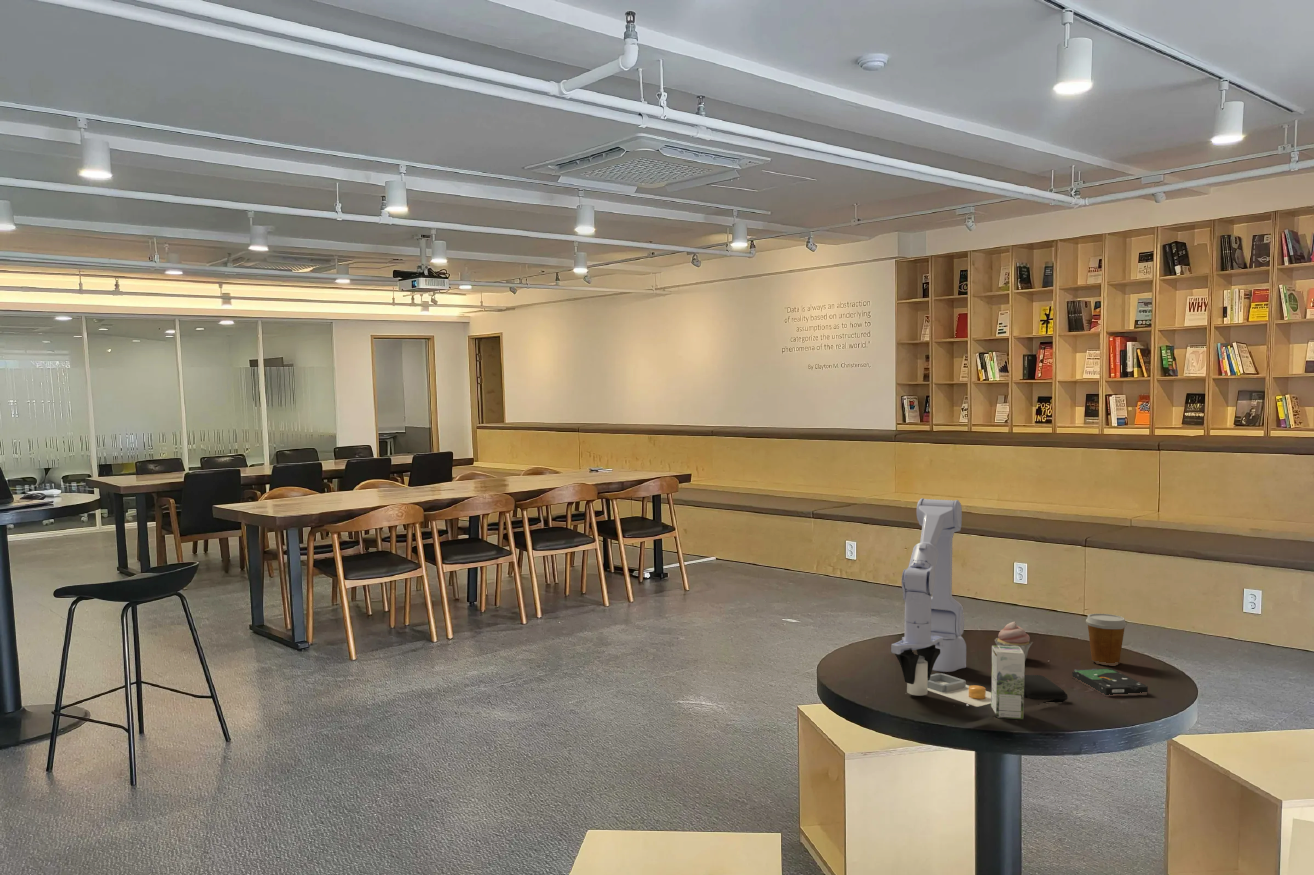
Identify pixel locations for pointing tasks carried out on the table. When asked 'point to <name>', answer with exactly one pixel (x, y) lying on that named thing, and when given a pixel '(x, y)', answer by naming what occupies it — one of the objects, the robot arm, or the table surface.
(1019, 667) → the syrup box
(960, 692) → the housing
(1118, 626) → the disposable coffee cup
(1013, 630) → the cupcake
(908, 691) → the cylinder
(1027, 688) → the carrying case or bag
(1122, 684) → the disk drive
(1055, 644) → the table surface
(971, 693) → the orange short cylinder
